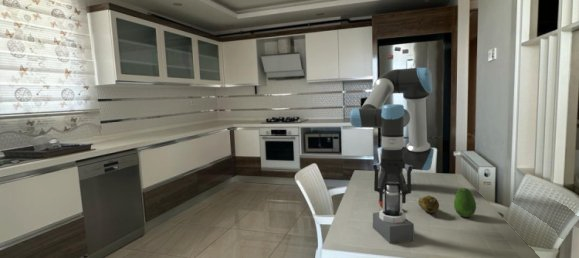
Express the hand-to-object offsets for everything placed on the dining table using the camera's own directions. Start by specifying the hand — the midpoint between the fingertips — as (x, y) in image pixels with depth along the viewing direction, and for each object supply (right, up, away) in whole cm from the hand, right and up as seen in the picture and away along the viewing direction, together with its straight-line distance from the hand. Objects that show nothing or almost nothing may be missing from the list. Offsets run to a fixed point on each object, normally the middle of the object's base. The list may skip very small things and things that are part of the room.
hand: (392, 210), depth 115 cm
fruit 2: (+34, -6, +14) cm, 38 cm away
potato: (+22, -6, +20) cm, 31 cm away
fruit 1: (+6, -6, +25) cm, 27 cm away
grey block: (0, -9, +1) cm, 9 cm away
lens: (0, -2, 0) cm, 2 cm away
